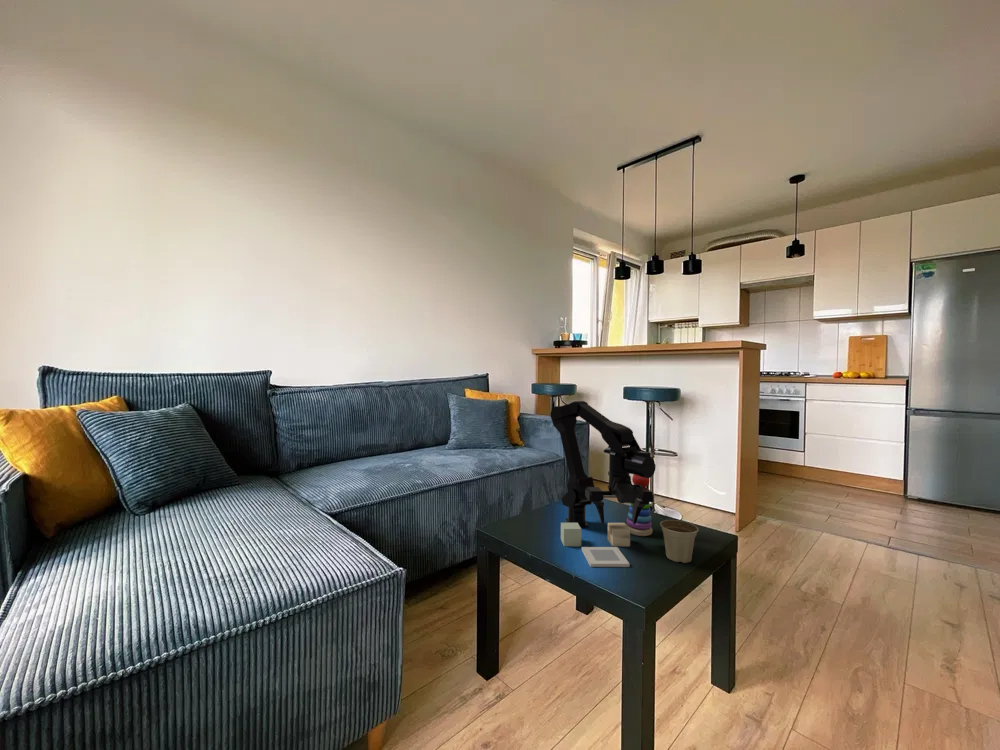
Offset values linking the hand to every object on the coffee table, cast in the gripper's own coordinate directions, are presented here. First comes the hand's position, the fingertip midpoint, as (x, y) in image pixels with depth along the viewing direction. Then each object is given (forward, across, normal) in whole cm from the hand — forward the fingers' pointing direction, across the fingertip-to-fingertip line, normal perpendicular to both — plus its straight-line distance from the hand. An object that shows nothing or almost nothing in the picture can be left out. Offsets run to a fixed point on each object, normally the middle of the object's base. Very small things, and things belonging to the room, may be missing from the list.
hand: (618, 523), depth 118 cm
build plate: (+5, -7, -10) cm, 13 cm away
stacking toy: (+6, +9, +8) cm, 13 cm away
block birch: (+6, 0, 0) cm, 6 cm away
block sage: (+6, -14, 0) cm, 15 cm away
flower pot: (+6, +13, -10) cm, 17 cm away
